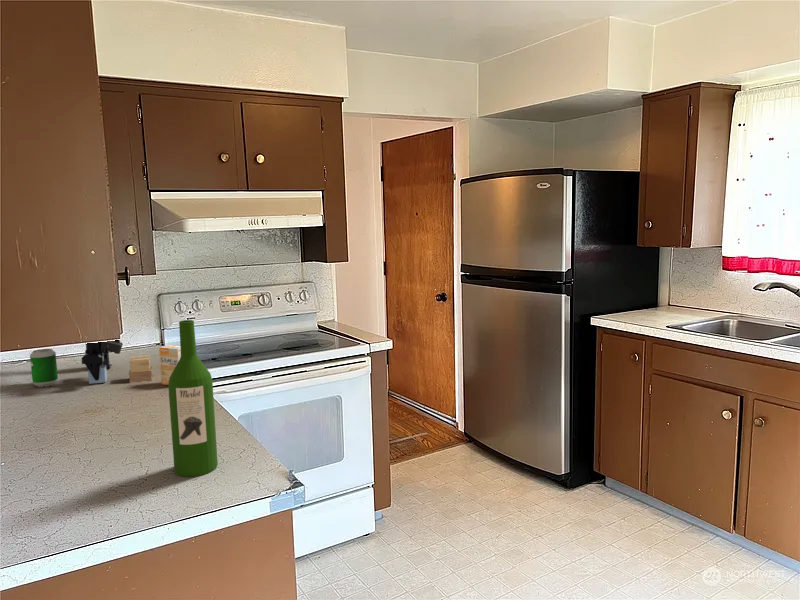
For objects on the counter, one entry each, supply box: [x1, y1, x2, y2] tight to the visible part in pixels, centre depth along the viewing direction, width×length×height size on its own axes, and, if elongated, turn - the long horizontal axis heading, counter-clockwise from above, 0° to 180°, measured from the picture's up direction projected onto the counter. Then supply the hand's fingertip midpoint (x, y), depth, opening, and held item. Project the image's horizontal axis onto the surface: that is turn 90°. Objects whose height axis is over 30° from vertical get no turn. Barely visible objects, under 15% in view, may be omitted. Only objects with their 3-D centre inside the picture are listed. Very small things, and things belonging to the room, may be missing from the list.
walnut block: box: [128, 365, 154, 383], centre depth 205 cm, size 7×7×4 cm
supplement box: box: [158, 344, 181, 386], centre depth 198 cm, size 8×5×13 cm, turn 68°
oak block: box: [129, 355, 151, 372], centre depth 205 cm, size 6×6×4 cm
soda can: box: [29, 348, 59, 388], centre depth 201 cm, size 8×8×12 cm
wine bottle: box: [167, 319, 218, 478], centre depth 125 cm, size 9×9×32 cm
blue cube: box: [87, 365, 108, 385], centre depth 202 cm, size 5×5×5 cm
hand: (98, 378), depth 203 cm, fingers closed on blue cube, 5 cm apart
